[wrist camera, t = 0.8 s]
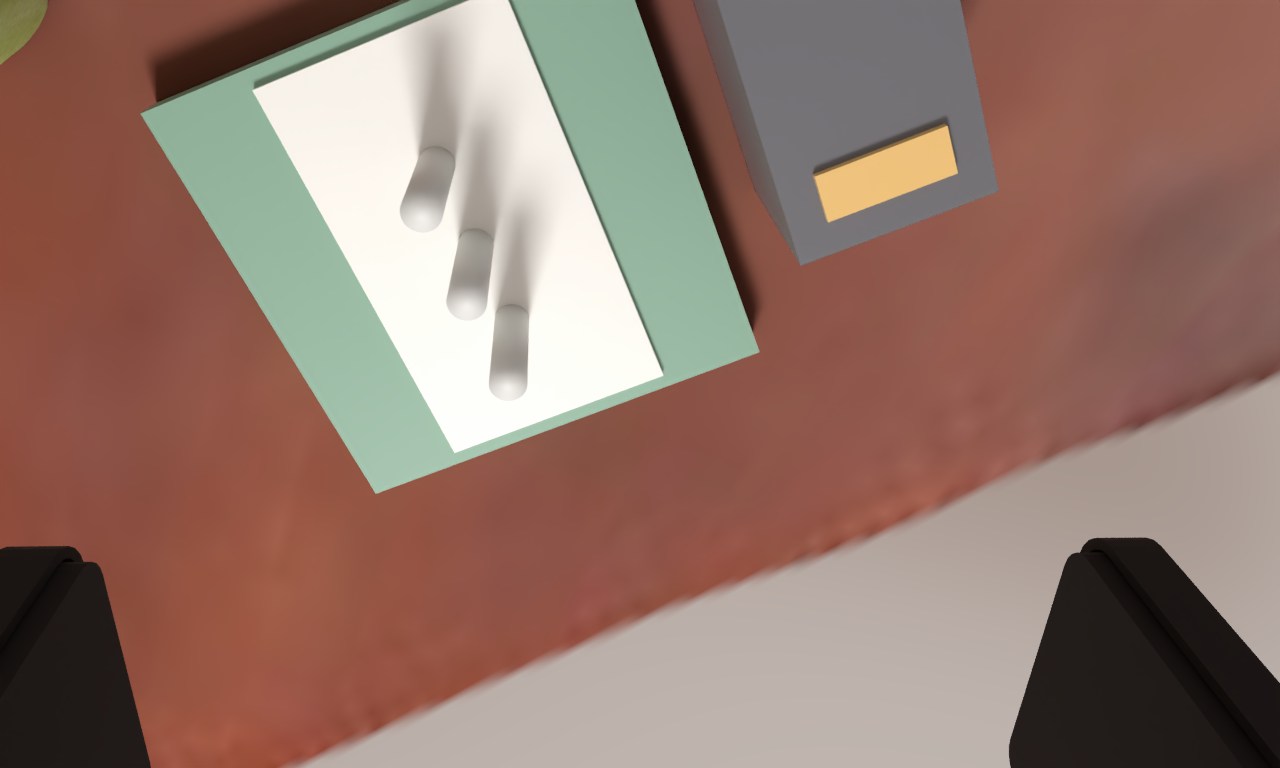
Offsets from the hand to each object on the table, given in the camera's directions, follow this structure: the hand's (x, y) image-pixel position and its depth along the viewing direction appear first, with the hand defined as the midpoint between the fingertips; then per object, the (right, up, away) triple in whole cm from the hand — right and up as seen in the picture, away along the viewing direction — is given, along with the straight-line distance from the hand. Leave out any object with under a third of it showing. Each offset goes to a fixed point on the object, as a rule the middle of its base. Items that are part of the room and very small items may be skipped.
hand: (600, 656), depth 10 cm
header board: (-4, +7, +20) cm, 22 cm away
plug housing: (+4, +13, +17) cm, 22 cm away
